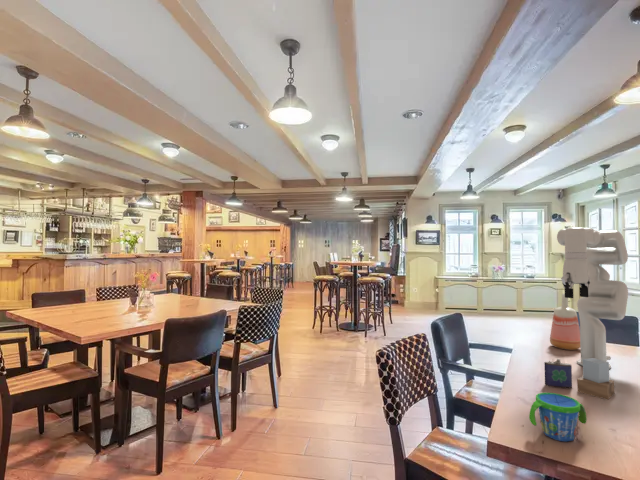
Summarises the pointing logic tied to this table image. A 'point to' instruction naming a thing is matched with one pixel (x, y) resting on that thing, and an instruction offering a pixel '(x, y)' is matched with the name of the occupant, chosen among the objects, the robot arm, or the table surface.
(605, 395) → the block
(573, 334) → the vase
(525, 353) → the table surface
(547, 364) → the clover trinket box
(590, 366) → the pale blue cube
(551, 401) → the snack cup
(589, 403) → the table surface
